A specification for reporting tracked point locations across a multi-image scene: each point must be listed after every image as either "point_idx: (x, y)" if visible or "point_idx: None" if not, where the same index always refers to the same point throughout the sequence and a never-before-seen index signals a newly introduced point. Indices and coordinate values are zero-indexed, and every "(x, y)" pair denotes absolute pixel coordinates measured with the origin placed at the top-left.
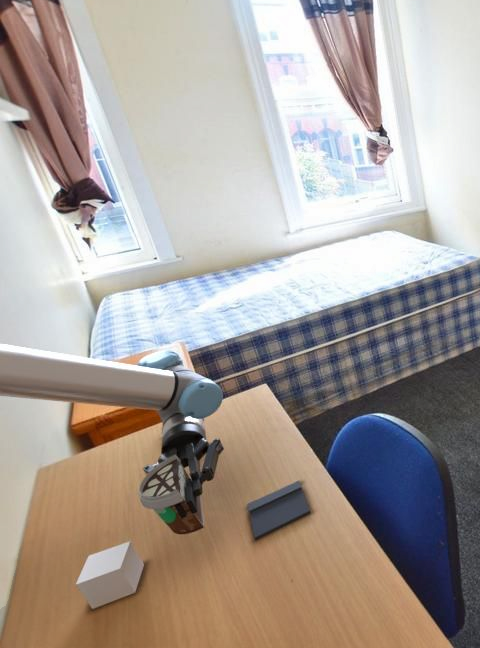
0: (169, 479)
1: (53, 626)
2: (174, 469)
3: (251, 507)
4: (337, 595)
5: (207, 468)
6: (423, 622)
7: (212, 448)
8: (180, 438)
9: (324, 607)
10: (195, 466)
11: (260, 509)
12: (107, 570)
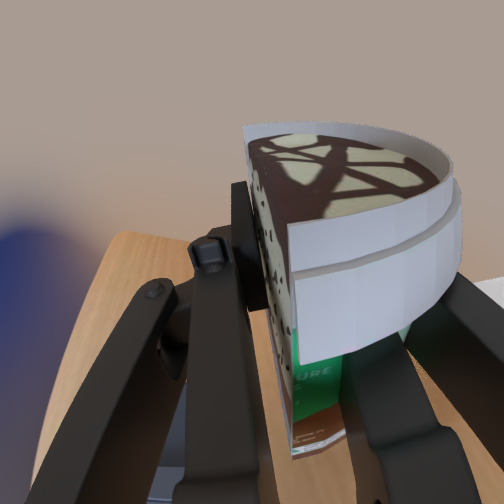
0: (295, 158)
1: None
2: (287, 191)
3: (181, 477)
4: (144, 264)
5: (145, 287)
6: (115, 236)
7: (47, 477)
8: None
9: (160, 258)
10: (198, 329)
11: (165, 463)
12: (480, 286)
